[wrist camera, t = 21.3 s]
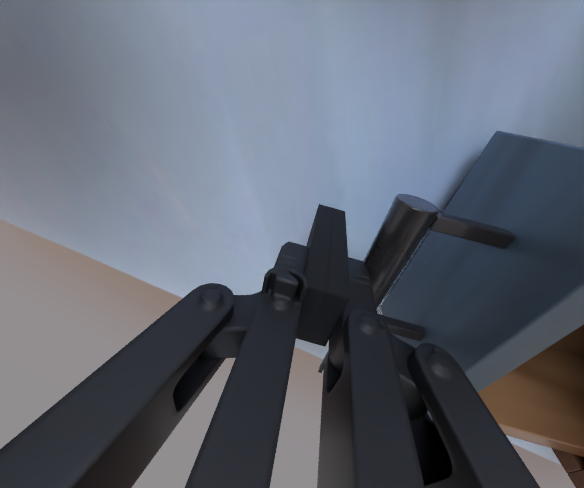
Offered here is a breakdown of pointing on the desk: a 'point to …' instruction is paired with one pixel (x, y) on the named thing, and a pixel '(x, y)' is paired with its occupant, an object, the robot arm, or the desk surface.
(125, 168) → the desk surface
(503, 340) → the drawer
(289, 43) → the desk surface
